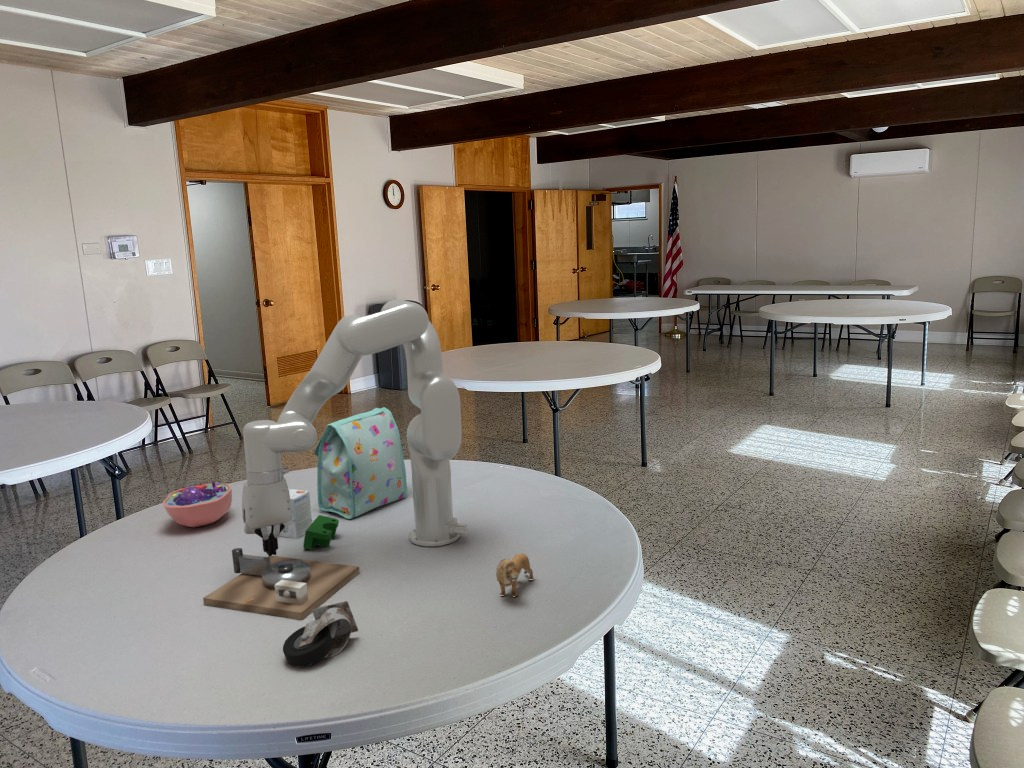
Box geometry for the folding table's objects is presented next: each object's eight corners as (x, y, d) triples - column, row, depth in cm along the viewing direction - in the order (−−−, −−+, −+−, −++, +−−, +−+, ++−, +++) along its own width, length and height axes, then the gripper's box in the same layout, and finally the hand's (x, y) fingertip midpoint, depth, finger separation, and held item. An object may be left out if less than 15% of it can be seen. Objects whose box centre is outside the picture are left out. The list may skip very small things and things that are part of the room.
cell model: (249, 510, 210) (245, 472, 208) (209, 538, 191) (204, 496, 189) (195, 508, 213) (190, 471, 211) (150, 535, 194) (144, 494, 192)
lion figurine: (517, 607, 148) (516, 565, 147) (492, 604, 150) (490, 562, 148) (536, 575, 162) (535, 536, 161) (513, 573, 164) (512, 534, 162)
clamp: (325, 563, 182) (326, 540, 178) (303, 559, 182) (303, 535, 178) (339, 531, 191) (340, 508, 187) (318, 526, 191) (319, 503, 187)
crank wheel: (319, 571, 164) (317, 549, 163) (292, 591, 155) (290, 568, 154) (250, 562, 170) (247, 540, 169) (220, 581, 161) (217, 558, 160)
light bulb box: (263, 534, 192) (259, 494, 190) (280, 525, 198) (276, 486, 196) (297, 539, 188) (293, 498, 186) (313, 529, 194) (310, 490, 192)
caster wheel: (286, 682, 130) (299, 643, 140) (350, 666, 130) (359, 628, 140) (272, 650, 128) (287, 613, 138) (337, 635, 127) (347, 598, 137)
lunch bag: (373, 488, 225) (367, 402, 220) (413, 497, 215) (407, 407, 210) (313, 512, 207) (304, 418, 202) (353, 523, 197) (345, 425, 192)
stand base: (359, 572, 167) (357, 551, 166) (301, 620, 146) (299, 596, 145) (270, 561, 175) (268, 541, 174) (203, 605, 154) (200, 582, 153)
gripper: (293, 466, 172) (298, 541, 175) (226, 477, 164) (233, 555, 168) (303, 474, 166) (308, 551, 169) (233, 486, 158) (241, 567, 161)
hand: (271, 553), depth 168 cm, fingers closed
